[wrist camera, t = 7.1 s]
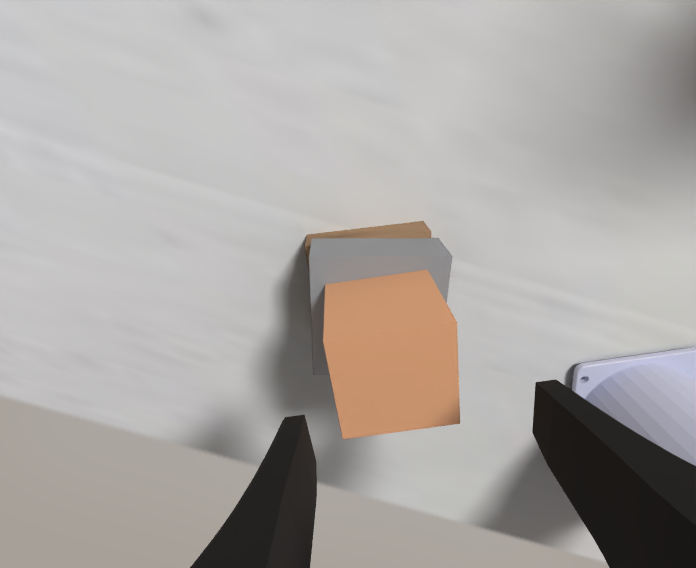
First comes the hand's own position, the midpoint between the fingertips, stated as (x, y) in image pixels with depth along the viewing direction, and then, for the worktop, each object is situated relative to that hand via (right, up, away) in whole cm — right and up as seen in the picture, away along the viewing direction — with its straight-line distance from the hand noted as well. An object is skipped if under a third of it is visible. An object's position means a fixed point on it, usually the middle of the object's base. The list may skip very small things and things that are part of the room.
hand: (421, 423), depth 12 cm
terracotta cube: (-1, +3, +5) cm, 6 cm away
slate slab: (-1, +4, +8) cm, 9 cm away
